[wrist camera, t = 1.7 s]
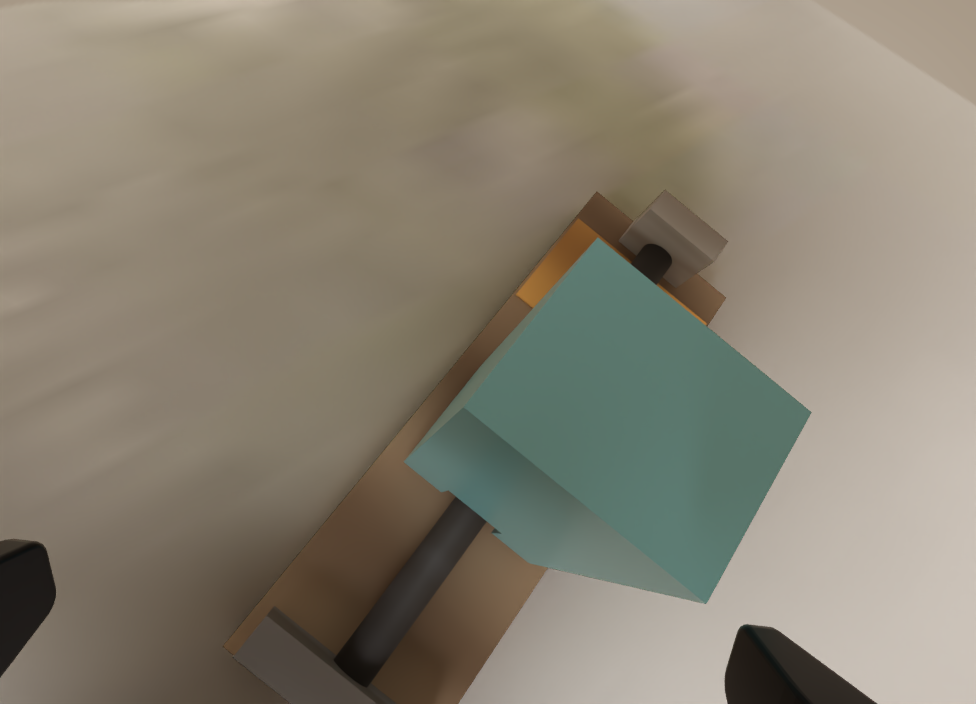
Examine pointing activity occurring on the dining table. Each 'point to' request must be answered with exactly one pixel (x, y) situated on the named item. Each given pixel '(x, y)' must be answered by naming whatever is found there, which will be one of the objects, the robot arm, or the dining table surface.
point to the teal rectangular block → (615, 435)
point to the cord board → (439, 519)
